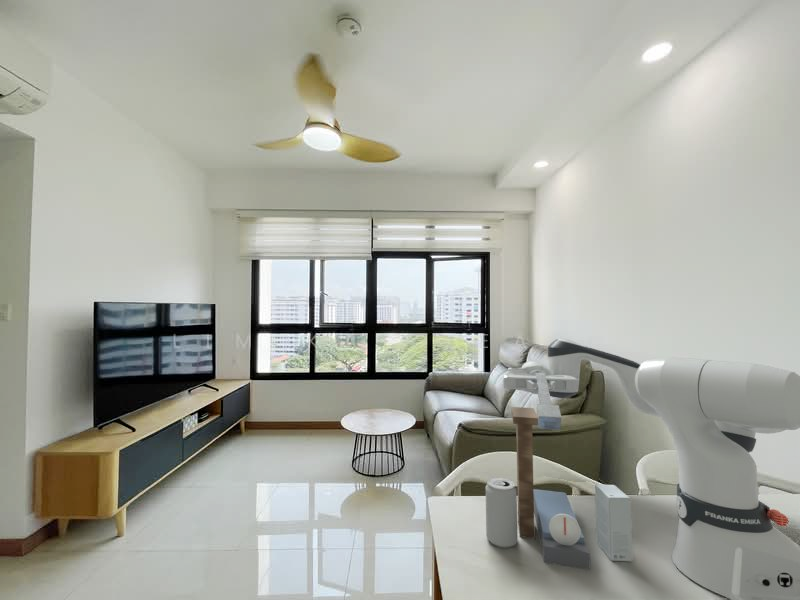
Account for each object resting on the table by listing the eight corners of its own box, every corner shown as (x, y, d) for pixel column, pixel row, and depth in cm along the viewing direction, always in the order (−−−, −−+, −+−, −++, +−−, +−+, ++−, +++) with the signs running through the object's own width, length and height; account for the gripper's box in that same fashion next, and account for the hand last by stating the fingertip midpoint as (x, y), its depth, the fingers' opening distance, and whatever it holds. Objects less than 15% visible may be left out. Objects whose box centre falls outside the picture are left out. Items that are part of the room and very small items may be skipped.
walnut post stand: (536, 522, 82) (533, 408, 84) (540, 546, 74) (538, 418, 75) (513, 519, 84) (511, 406, 85) (515, 542, 75) (513, 416, 76)
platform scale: (566, 509, 88) (566, 472, 88) (589, 569, 67) (588, 521, 67) (532, 505, 90) (531, 469, 90) (544, 562, 69) (543, 515, 69)
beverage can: (519, 552, 72) (518, 490, 72) (486, 548, 73) (485, 487, 74) (515, 533, 78) (514, 477, 79) (485, 530, 79) (484, 474, 80)
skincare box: (633, 562, 69) (631, 498, 69) (610, 561, 69) (608, 497, 70) (616, 542, 75) (614, 484, 75) (595, 542, 75) (593, 483, 76)
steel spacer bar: (549, 379, 101) (550, 368, 100) (560, 429, 85) (561, 417, 84) (530, 379, 103) (531, 368, 101) (538, 428, 87) (538, 416, 85)
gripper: (573, 390, 107) (585, 400, 94) (503, 387, 113) (504, 397, 99) (573, 369, 108) (584, 376, 94) (502, 367, 113) (503, 374, 100)
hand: (542, 387), depth 97 cm, fingers closed on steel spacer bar, 2 cm apart
